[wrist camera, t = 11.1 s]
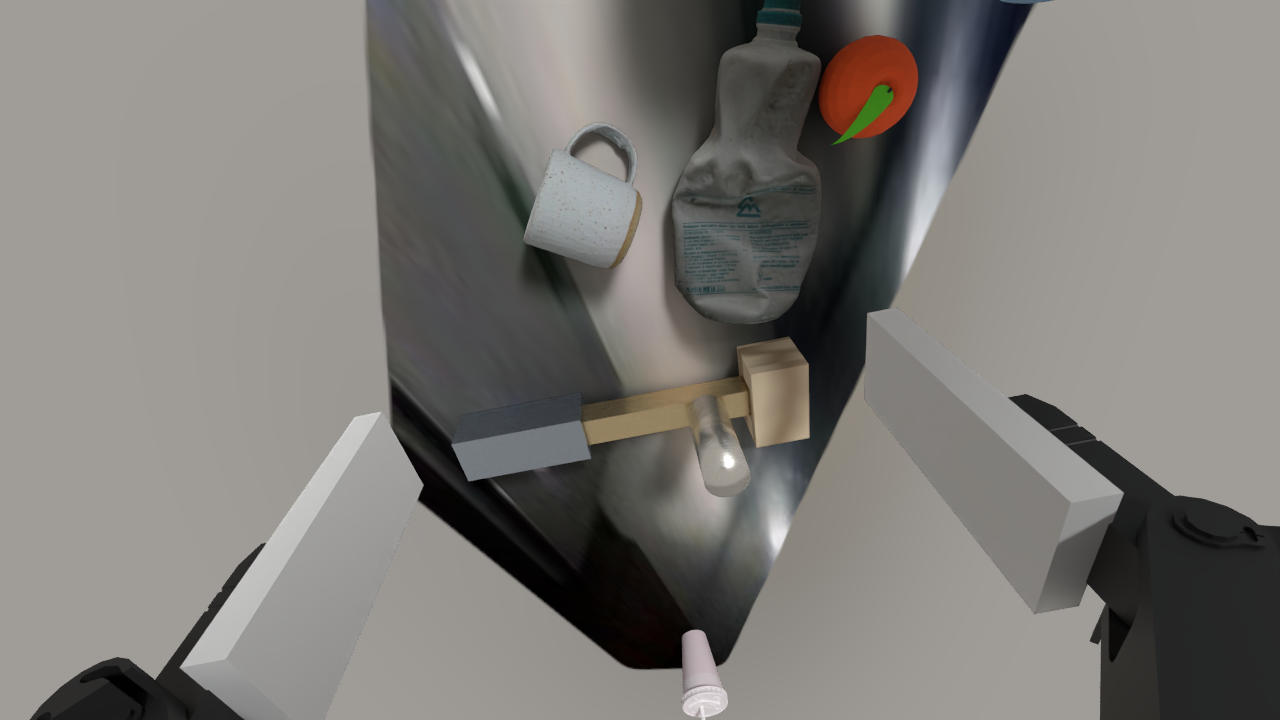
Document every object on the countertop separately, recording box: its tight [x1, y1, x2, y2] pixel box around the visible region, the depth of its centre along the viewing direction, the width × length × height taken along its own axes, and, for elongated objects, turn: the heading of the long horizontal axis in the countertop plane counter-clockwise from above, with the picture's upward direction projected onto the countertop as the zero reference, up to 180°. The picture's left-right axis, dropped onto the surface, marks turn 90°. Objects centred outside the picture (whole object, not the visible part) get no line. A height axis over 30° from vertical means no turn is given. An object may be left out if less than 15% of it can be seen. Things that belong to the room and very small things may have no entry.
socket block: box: [737, 337, 809, 448], centre depth 53 cm, size 6×9×6 cm, turn 10°
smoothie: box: [681, 630, 728, 720], centre depth 72 cm, size 6×6×14 cm
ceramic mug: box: [524, 122, 642, 269], centre depth 41 cm, size 11×8×8 cm
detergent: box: [672, 0, 822, 324], centre depth 42 cm, size 13×7×25 cm
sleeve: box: [451, 393, 591, 481], centre depth 54 cm, size 13×5×5 cm, turn 100°
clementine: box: [818, 35, 918, 145], centre depth 39 cm, size 8×7×7 cm
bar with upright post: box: [582, 375, 751, 497], centre depth 49 cm, size 23×4×13 cm, turn 100°
